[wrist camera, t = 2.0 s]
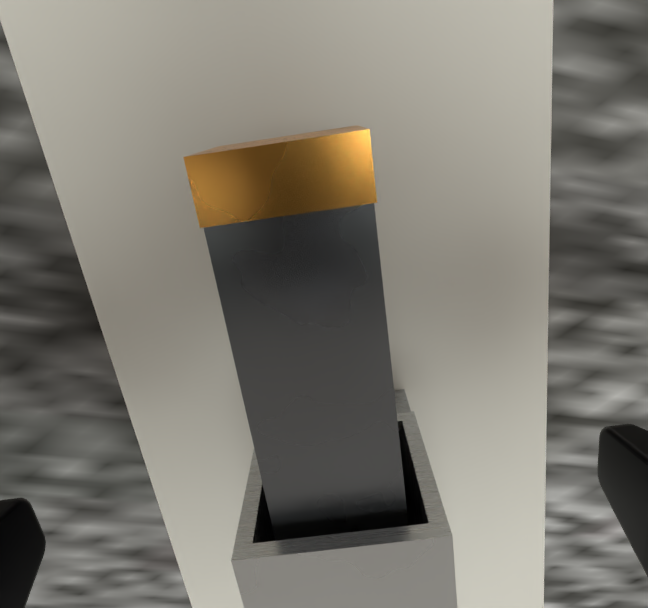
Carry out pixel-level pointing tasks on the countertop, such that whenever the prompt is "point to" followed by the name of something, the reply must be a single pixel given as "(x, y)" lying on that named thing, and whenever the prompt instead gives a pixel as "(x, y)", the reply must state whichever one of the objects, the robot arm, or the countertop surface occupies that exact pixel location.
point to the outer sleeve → (352, 548)
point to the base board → (392, 228)
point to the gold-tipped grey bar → (307, 324)
